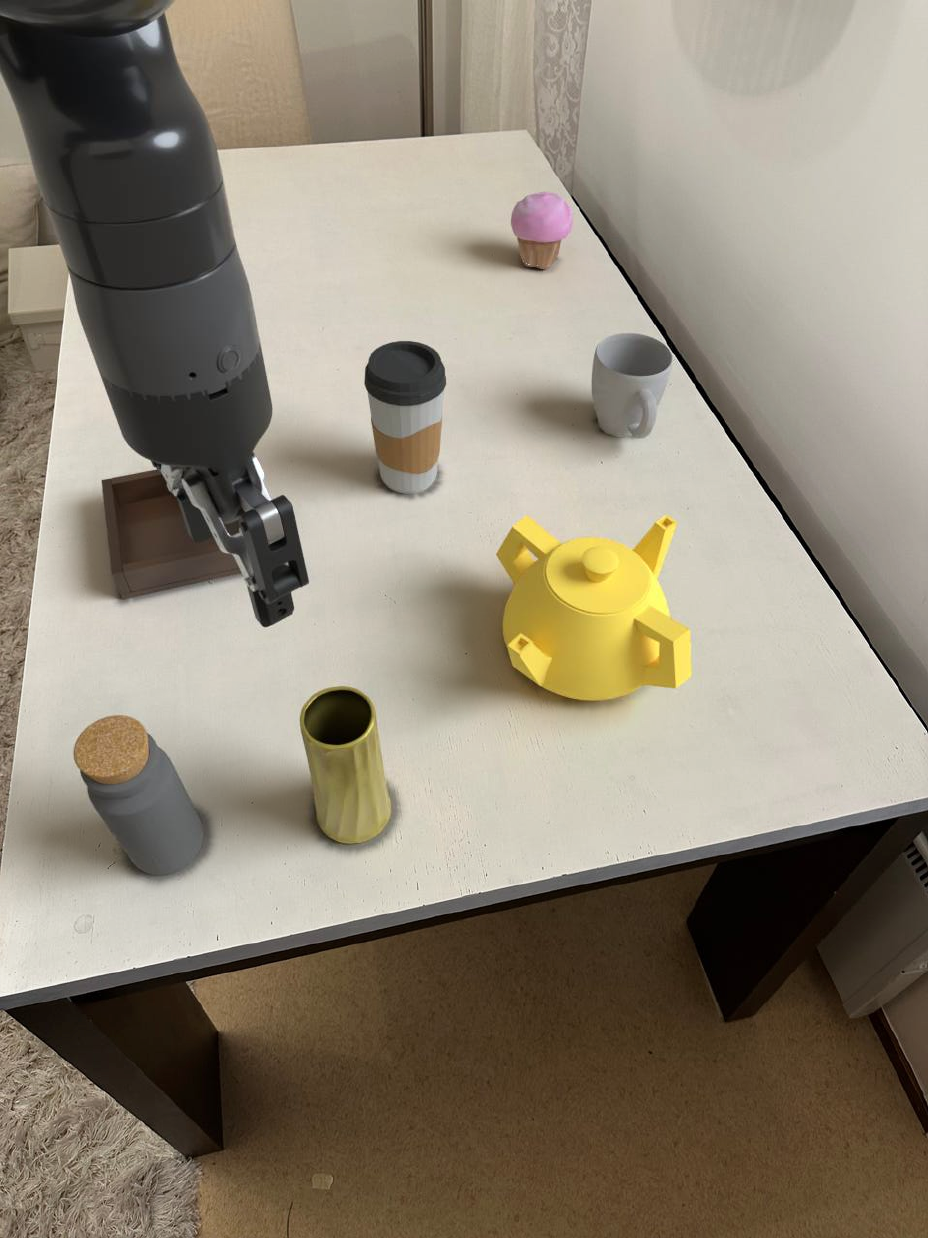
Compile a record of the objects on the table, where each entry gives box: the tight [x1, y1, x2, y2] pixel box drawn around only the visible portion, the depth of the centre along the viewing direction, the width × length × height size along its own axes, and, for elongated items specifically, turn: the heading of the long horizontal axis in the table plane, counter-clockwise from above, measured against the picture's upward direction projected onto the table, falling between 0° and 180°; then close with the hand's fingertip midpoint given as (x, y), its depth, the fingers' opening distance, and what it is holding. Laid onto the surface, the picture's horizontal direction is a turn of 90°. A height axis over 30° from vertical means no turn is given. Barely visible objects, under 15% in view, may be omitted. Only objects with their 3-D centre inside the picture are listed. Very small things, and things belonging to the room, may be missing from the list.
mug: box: [591, 332, 674, 439], centre depth 98 cm, size 12×9×10 cm
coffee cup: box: [363, 340, 447, 495], centre depth 90 cm, size 8×8×15 cm
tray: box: [101, 468, 249, 600], centre depth 87 cm, size 14×14×4 cm
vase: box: [299, 685, 392, 845], centre depth 64 cm, size 6×6×14 cm
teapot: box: [495, 514, 693, 702], centre depth 76 cm, size 17×17×12 cm
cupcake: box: [510, 191, 574, 270], centre depth 122 cm, size 9×9×10 cm
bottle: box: [73, 714, 205, 877], centre depth 61 cm, size 6×6×15 cm
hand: (241, 574), depth 52 cm, fingers open, 8 cm apart
